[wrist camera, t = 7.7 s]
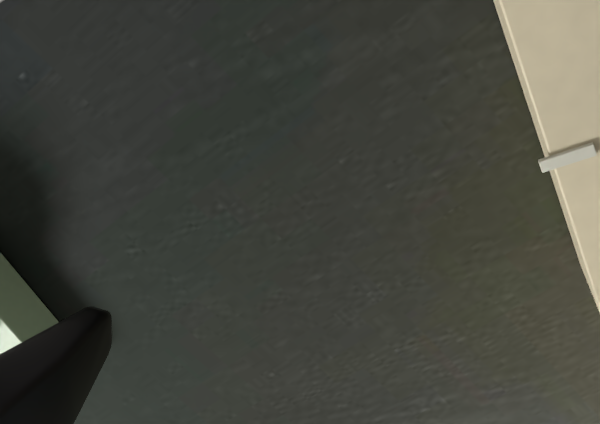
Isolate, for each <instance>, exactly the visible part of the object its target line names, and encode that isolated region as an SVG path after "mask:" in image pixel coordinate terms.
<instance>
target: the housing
mask: <svg viewBox="0 0 600 424" xmlns="http://www.w3.org/2000/svg"><path fill="white" fill-rule="evenodd" d="M57 323H58V320H57V319H56V318H55V317H54V316H53V315H52V313H51V312H50V311H49V310H48V309H47V307H46V306H45V305H44V304H43V303H42V301H41V300H40V299H39V298H38V297H37V295H36V294H35V293H34V292H33V291H32V289H31V288H30V287H29V286H28V285H27V283H26V282H25V281H24V280H23V279H22V278H21V276H20V275H19V274H18V273H17V272H16V270H15V269H14V268H13V267H12V266H11V264H10V263H9V262H8V261H7V260H6V258H5V257H4V256H3V255H2V254H1V252H0V354H1V353H3V352H5V351H7V350H9V349H11V348H12V347H14V346H16V345H18V344H20V343H22V342H23V341H25V340H27V339H29V338H31V337H33V336H34V335H36V334H38V333H40V332H42V331H44V330H46V329H47V328H49V327H51V326H53V325H55V324H57Z"/></svg>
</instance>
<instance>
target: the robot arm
mask: <svg viewBox="0 0 600 424" xmlns="http://www.w3.org/2000/svg"><path fill="white" fill-rule="evenodd" d="M111 341H112V335H111V314H110V313H109V312H108V311H106V310H102V309H99V308H95V307H87V308H84V309H82V310H81V311H79V312H77V313H75V314H73V315H71V316H69V317H68V318H66V319H64V320H62V321H60V322H58V323H57V324H55V325H53V326H51V327H49V328H47V329H46V330H44V331H42V332H40V333H38V334H36V335H34V336H33V337H31V338H29V339H27V340H25V341H23V342H22V343H20V344H18V345H16V346H14V347H12V348H11V349H9V350H7V351H5V352H3V353H1V354H0V424H73V423H74V422H75V420H76V418H77V416H78V414H79V412H80V410H81V408H82V406H83V404H84V402H85V400H86V398H87V396H88V394H89V392H90V390H91V388H92V386H93V384H94V382H95V380H96V378H97V376H98V374H99V372H100V370H101V368H102V366H103V364H104V362H105V360H106V358H107V356H108V354H109V351H110V348H111Z"/></svg>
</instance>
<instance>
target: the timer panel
mask: <svg viewBox="0 0 600 424" xmlns="http://www.w3.org/2000/svg"><path fill="white" fill-rule="evenodd" d="M493 1H494V4H495V7H496V10H497V13H498V16H499V19H500V22H501V25H502V28H503V31H504V34H505V37H506V40H507V44H508V47H509V50H510V53H511V56H512V59H513V62H514V65H515V68H516V71H517V74H518V77H519V80H520V83H521V86H522V89H523V92H524V95H525V98H526V101H527V104H528V107H529V110H530V113H531V116H532V119H533V122H534V125H535V128H536V132H537V135H538V138H539V141H540V144H541V147H542V150H543V153H544V156H545V158H542V159H539V160H538V162H539V165H540V168H541V171H542V173H543V172H547V171H550V174H551V177H552V180H553V183H554V186H555V189H556V192H557V195H558V198H559V201H560V204H561V207H562V210H563V213H564V216H565V219H566V223H567V226H568V229H569V232H570V235H571V238H572V241H573V244H574V247H575V250H576V253H577V256H578V259H579V262H580V265H581V268H582V270H583V273H584V275H585V278H586V280H587V282H588V285H589V287H590V290H591V292H592V295H593V297H594V300H595V302H596V305H597V307H598V310H599V312H600V0H493Z"/></svg>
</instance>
